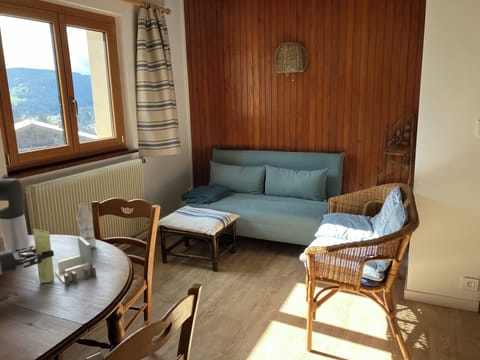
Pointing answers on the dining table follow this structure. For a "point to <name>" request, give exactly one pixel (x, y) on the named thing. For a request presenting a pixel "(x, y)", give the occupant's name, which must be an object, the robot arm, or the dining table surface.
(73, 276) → the clips
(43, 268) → the tube
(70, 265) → the end holder
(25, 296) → the dining table surface
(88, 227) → the plastic bottle
